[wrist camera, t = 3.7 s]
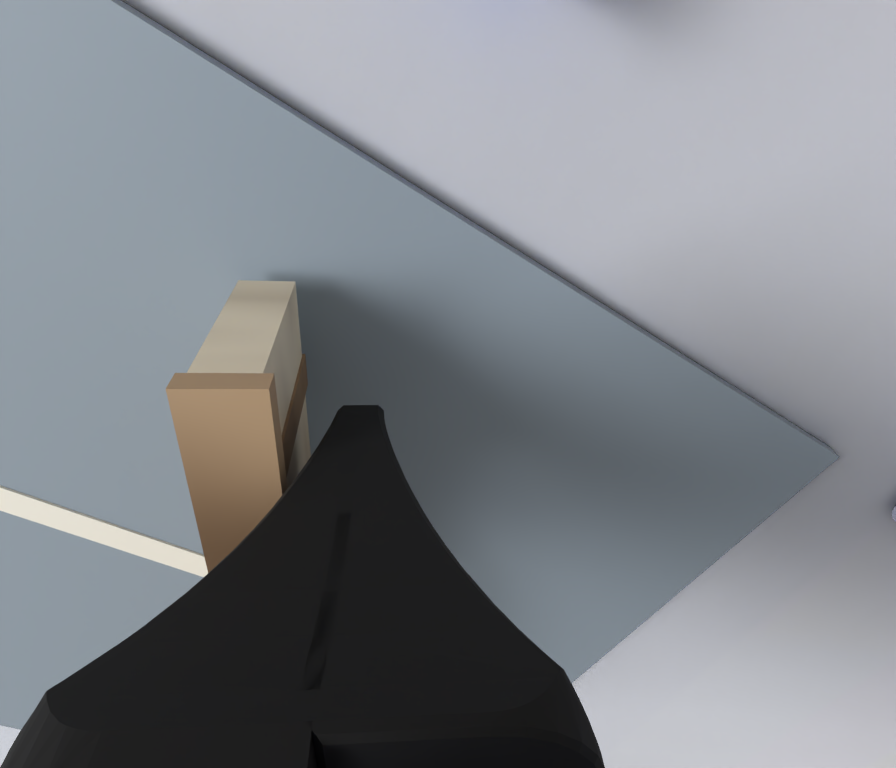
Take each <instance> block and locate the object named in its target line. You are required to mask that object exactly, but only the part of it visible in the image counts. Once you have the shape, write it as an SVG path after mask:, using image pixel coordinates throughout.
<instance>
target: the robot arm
mask: <svg viewBox="0 0 896 768" xmlns="http://www.w3.org/2000/svg"><path fill="white" fill-rule="evenodd" d="M892 518H893V519H894V521H895V522H896V506H895V507H894V509H893V511H892ZM0 768H605V767H604V763H603V759H602V755H601V752H600V749H599V746H598V743H597V740H596V737H595V735H594V732H593V730H592V727H591V725H590V722H589V720H588V717H587V715H586V713H585V711H584V708H583V706H582V704H581V702H580V700H579V698H578V696H577V694H576V692H575V690H574V688H573V686H572V684H571V682H570V680H569V678H568V676H567V674H566V672H565V670H564V669H563V668H562V667H561V666H559V665H558V664H557V663H556V662H555V661H554V660H552V659H551V658H550V657H549V656H548V655H547V654H546V653H544V652H543V651H542V650H541V649H540V648H539V647H538V646H537V645H536V644H535V643H533V642H532V641H531V640H530V639H529V638H528V637H527V636H526V635H525V634H524V633H523V632H522V631H521V630H519V629H518V628H517V627H516V625H515V624H514V623H513V622H512V621H511V620H510V619H509V618H508V617H507V616H506V615H505V614H504V613H503V612H502V611H501V610H500V609H499V608H498V607H497V606H496V605H495V604H494V603H493V602H492V601H491V600H490V598H489V597H488V596H487V595H486V594H485V593H484V592H483V590H482V589H481V588H480V587H479V586H478V585H477V583H476V582H475V581H474V580H473V579H472V578H471V577H470V575H469V574H468V573H467V572H466V571H465V570H464V568H463V567H462V566H461V565H460V563H459V562H458V561H457V559H456V558H455V557H454V555H453V554H452V553H451V551H450V550H449V549H448V547H447V546H446V545H445V543H444V542H443V540H442V539H441V537H440V536H439V535H438V533H437V532H436V530H435V529H434V527H433V526H432V524H431V522H430V521H429V519H428V518H427V516H426V514H425V513H424V511H423V509H422V508H421V506H420V504H419V502H418V501H417V499H416V497H415V495H414V493H413V492H412V490H411V488H410V486H409V484H408V482H407V480H406V478H405V476H404V473H403V471H402V469H401V467H400V464H399V462H398V460H397V458H396V455H395V453H394V450H393V448H392V445H391V442H390V439H389V436H388V432H387V429H386V425H385V419H384V410H383V409H382V408H381V407H380V406H379V405H343V406H342V407H341V408H340V409H339V410H338V411H337V413H336V415H335V417H334V419H333V421H332V423H331V425H330V427H329V428H328V430H327V432H326V433H325V435H324V437H323V438H322V440H321V442H320V443H319V445H318V446H317V448H316V450H315V451H314V453H313V454H312V455H311V457H310V458H309V460H308V461H307V463H306V464H305V466H304V467H303V469H302V470H301V471H300V473H299V474H298V476H297V477H296V478H295V480H294V481H293V482H292V484H291V485H290V486H289V487H288V489H287V490H286V491H285V492H284V494H283V495H282V496H281V497H280V499H279V500H278V501H277V502H276V504H275V505H274V506H273V507H272V509H271V510H270V511H269V512H268V513H267V514H266V516H265V517H264V518H263V519H262V520H261V521H260V522H259V523H258V525H257V526H256V527H255V528H254V529H253V530H252V531H251V532H250V533H249V534H248V535H247V536H246V537H245V538H244V539H243V540H242V541H241V542H240V544H239V545H238V546H237V547H236V548H235V549H234V550H233V551H231V552H230V553H229V554H228V555H227V556H226V557H225V558H224V559H223V560H222V561H221V562H220V563H219V564H218V565H217V566H215V567H214V568H213V569H212V570H211V571H210V572H209V573H208V574H207V575H206V576H205V577H204V578H202V579H201V580H200V581H199V582H198V583H197V584H196V585H194V586H193V587H192V588H191V589H190V590H189V591H187V592H186V593H185V594H184V595H183V596H181V597H180V598H179V599H177V600H176V601H175V602H174V603H172V604H171V605H170V606H169V607H167V608H166V609H165V610H163V611H162V612H161V613H160V614H158V615H157V616H156V617H154V618H153V619H152V620H151V621H149V622H148V623H147V624H146V625H144V626H143V627H142V628H140V629H139V630H138V631H136V632H135V633H133V634H132V635H131V636H129V637H128V638H126V639H125V640H124V641H122V642H121V643H119V644H118V645H116V646H115V647H113V648H112V649H110V650H109V651H107V652H106V653H104V654H103V655H101V656H100V657H98V658H97V659H95V660H93V661H92V662H90V663H89V664H87V665H86V666H84V667H83V668H81V669H80V670H78V671H77V672H75V673H74V674H72V675H71V676H69V677H68V678H66V679H65V680H63V681H61V682H60V683H58V684H57V685H55V686H53V687H52V688H50V689H49V690H47V691H46V692H45V694H44V695H43V697H42V699H41V700H40V702H39V704H38V705H37V707H36V709H35V710H34V712H33V713H32V714H31V716H30V717H29V719H28V720H27V722H26V723H25V725H24V726H23V728H22V729H21V731H20V733H19V735H18V736H17V738H16V740H15V741H14V743H13V745H12V747H11V748H10V750H9V752H8V754H7V756H6V758H5V760H4V762H3V764H2V765H1V767H0Z"/></svg>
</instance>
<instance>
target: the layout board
mask: <svg viewBox="0 0 896 768" xmlns="http://www.w3.org/2000/svg"><path fill="white" fill-rule="evenodd" d="M238 280H247V281H295V282H296V293H297V304H298V316H299V327H300V339H301V350H302V354H305V356H306V368H307V379H308V386H307V391H306V407H307V418H308V430H309V441H310V452H311V455H312V454H313V453H314V451H315V450H316V448H317V446H318V445H319V443H320V442H321V440H322V438H323V437H324V435H325V433H326V432H327V430H328V428H329V427H330V425H331V423H332V421H333V419H334V417H335V415H336V413H337V411H338V410H339V409H340V408H341V407H342V406H343V405H379V406H380V407H381V408H382V409H383V410H384V419H385V425H386V429H387V432H388V436H389V439H390V442H391V445H392V448H393V450H394V453H395V455H396V458H397V460H398V462H399V464H400V467H401V469H402V471H403V473H404V476H405V478H406V480H407V482H408V484H409V486H410V488H411V490H412V492H413V493H414V495H415V497H416V499H417V501H418V502H419V504H420V506H421V508H422V509H423V511H424V513H425V514H426V516H427V518H428V519H429V521H430V522H431V524H432V526H433V527H434V529H435V530H436V532H437V533H438V535H439V536H440V537H441V539H442V540H443V542H444V543H445V545H446V546H447V547H448V549H449V550H450V551H451V553H452V554H453V555H454V557H455V558H456V559H457V561H458V562H459V563H460V565H461V566H462V567H463V568H464V570H465V571H466V572H467V573H468V574H469V575H470V577H471V578H472V579H473V580H474V581H475V582H476V583H477V585H478V586H479V587H480V588H481V589H482V590H483V592H484V593H485V594H486V595H487V596H488V597H489V598H490V600H491V601H492V602H493V603H494V604H495V605H496V606H497V607H498V608H499V609H500V610H501V611H502V612H503V613H504V614H505V615H506V616H507V617H508V618H509V619H510V620H511V621H512V622H513V623H514V624H515V625H516V627H517V628H518V629H519V630H521V631H522V632H523V633H524V634H525V635H526V636H527V637H528V638H529V639H530V640H531V641H532V642H533V643H535V644H536V645H537V646H538V647H539V648H540V649H541V650H542V651H543V652H544V653H546V654H547V655H548V656H549V657H550V658H551V659H552V660H554V661H555V662H556V663H557V664H558V665H559V666H561V667H562V668H563V669H564V670H565V672H566V674H567V676H568V678H569V680H570V682H571V683H572V682H573V681H574V680H576V679H577V678H578V677H579V676H580V675H582V674H583V673H584V672H585V671H586V670H588V669H589V668H590V667H591V666H592V665H593V664H595V663H596V662H597V661H598V660H599V659H601V658H602V657H603V656H604V655H605V654H607V653H608V652H609V651H610V650H611V649H612V648H614V647H615V646H616V645H617V644H618V643H620V642H621V641H622V640H623V639H624V638H626V637H627V636H628V635H629V634H630V633H631V632H633V631H634V630H635V629H636V628H637V627H639V626H640V625H641V624H642V623H643V622H644V621H646V620H647V619H648V618H649V617H650V616H652V615H653V614H654V613H655V612H656V611H658V610H659V609H660V608H661V607H662V606H663V605H665V604H666V603H667V602H668V601H669V600H671V599H672V598H673V597H674V596H675V595H677V594H678V593H679V592H680V591H681V590H682V589H684V588H685V587H686V586H687V585H688V584H690V583H691V582H692V581H693V580H694V579H696V578H697V577H698V576H699V575H700V574H701V573H703V572H704V571H705V570H706V569H707V568H709V567H710V566H711V565H712V564H713V563H714V562H716V561H717V560H718V559H719V558H720V557H722V556H723V555H724V554H725V553H726V552H728V551H729V550H730V549H731V548H732V547H733V546H735V545H736V544H737V543H738V542H739V541H741V540H742V539H743V538H744V537H745V536H747V535H748V534H749V533H750V532H751V531H752V530H754V529H755V528H756V527H757V526H758V525H760V524H761V523H762V522H763V521H764V520H766V519H767V518H768V517H769V516H770V515H771V514H773V513H774V512H775V511H776V510H777V509H779V508H780V507H781V506H782V505H783V504H785V503H786V502H787V501H788V500H789V499H790V498H792V497H793V496H794V495H795V494H796V493H798V492H799V491H800V490H801V489H802V488H803V487H805V486H806V485H807V484H808V483H809V482H811V481H812V480H813V479H814V478H815V477H817V476H818V475H819V474H820V473H821V472H822V471H824V470H825V469H826V468H827V467H828V466H830V465H831V464H832V463H833V462H834V461H836V460H837V459H838V458H839V456H838V455H837V454H836V453H835V452H834V451H833V450H832V449H831V448H830V447H829V446H828V445H826V444H824V443H823V442H821V441H820V440H818V439H816V438H815V437H813V436H812V435H810V434H808V433H807V432H805V431H804V430H802V429H801V428H799V427H797V426H796V425H794V424H793V423H791V422H789V421H788V420H786V419H785V418H783V417H782V416H780V415H778V414H777V413H775V412H774V411H772V410H770V409H769V408H767V407H766V406H764V405H762V404H761V403H759V402H758V401H756V400H755V399H753V398H751V397H750V396H748V395H747V394H745V393H743V392H742V391H740V390H739V389H737V388H735V387H734V386H732V385H731V384H729V383H728V382H726V381H724V380H723V379H721V378H720V377H718V376H716V375H715V374H713V373H712V372H710V371H709V370H707V369H705V368H704V367H702V366H701V365H699V364H697V363H696V362H694V361H693V360H691V359H689V358H688V357H686V356H685V355H683V354H682V353H680V352H678V351H677V350H675V349H674V348H672V347H670V346H669V345H667V344H666V343H664V342H663V341H661V340H659V339H658V338H656V337H655V336H653V335H651V334H650V333H648V332H647V331H645V330H643V329H642V328H640V327H639V326H637V325H636V324H634V323H632V322H631V321H629V320H628V319H626V318H624V317H623V316H621V315H620V314H618V313H617V312H615V311H613V310H612V309H610V308H609V307H607V306H605V305H604V304H602V303H601V302H599V301H597V300H596V299H594V298H593V297H591V296H590V295H588V294H586V293H585V292H583V291H582V290H580V289H578V288H577V287H575V286H574V285H572V284H570V283H569V282H567V281H566V280H564V279H563V278H561V277H559V276H558V275H556V274H555V273H553V272H551V271H550V270H548V269H547V268H545V267H544V266H542V265H540V264H539V263H537V262H536V261H534V260H532V259H531V258H529V257H528V256H526V255H524V254H523V253H521V252H520V251H518V250H517V249H515V248H513V247H512V246H510V245H509V244H507V243H505V242H504V241H502V240H501V239H499V238H498V237H496V236H494V235H493V234H491V233H490V232H488V231H486V230H485V229H483V228H482V227H480V226H478V225H477V224H475V223H474V222H472V221H471V220H469V219H467V218H466V217H464V216H463V215H461V214H459V213H458V212H456V211H455V210H453V209H452V208H450V207H448V206H447V205H445V204H444V203H442V202H440V201H439V200H437V199H436V198H434V197H432V196H431V195H429V194H428V193H426V192H425V191H423V190H421V189H420V188H418V187H417V186H415V185H413V184H412V183H410V182H409V181H407V180H405V179H404V178H402V177H401V176H399V175H398V174H396V173H394V172H393V171H391V170H390V169H388V168H386V167H385V166H383V165H382V164H380V163H379V162H377V161H375V160H374V159H372V158H371V157H369V156H367V155H366V154H364V153H363V152H361V151H359V150H358V149H356V148H355V147H353V146H352V145H350V144H348V143H347V142H345V141H344V140H342V139H340V138H339V137H337V136H336V135H334V134H333V133H331V132H329V131H328V130H326V129H325V128H323V127H321V126H320V125H318V124H317V123H315V122H313V121H312V120H310V119H309V118H307V117H306V116H304V115H302V114H301V113H299V112H298V111H296V110H294V109H293V108H291V107H290V106H288V105H287V104H285V103H283V102H282V101H280V100H279V99H277V98H275V97H274V96H272V95H271V94H269V93H267V92H266V91H264V90H263V89H261V88H260V87H258V86H256V85H255V84H253V83H252V82H250V81H248V80H247V79H245V78H244V77H242V76H240V75H239V74H237V73H236V72H234V71H233V70H231V69H229V68H228V67H226V66H225V65H223V64H221V63H220V62H218V61H217V60H215V59H214V58H212V57H210V56H209V55H207V54H206V53H204V52H202V51H201V50H199V49H198V48H196V47H194V46H193V45H191V44H190V43H188V42H187V41H185V40H183V39H182V38H180V37H179V36H177V35H175V34H174V33H172V32H171V31H169V30H168V29H166V28H164V27H163V26H161V25H160V24H158V23H156V22H155V21H153V20H152V19H150V18H148V17H147V16H145V15H144V14H142V13H141V12H139V11H137V10H136V9H134V8H133V7H131V6H129V5H128V4H126V3H125V2H123V1H122V0H0V725H2V726H7V727H11V728H16V729H20V730H21V729H22V728H23V726H24V725H25V723H26V722H27V720H28V719H29V717H30V716H31V714H32V713H33V712H34V710H35V709H36V707H37V705H38V704H39V702H40V700H41V699H42V697H43V695H44V694H45V692H46V691H47V690H49V689H50V688H52V687H53V686H55V685H57V684H58V683H60V682H61V681H63V680H65V679H66V678H68V677H69V676H71V675H72V674H74V673H75V672H77V671H78V670H80V669H81V668H83V667H84V666H86V665H87V664H89V663H90V662H92V661H93V660H95V659H97V658H98V657H100V656H101V655H103V654H104V653H106V652H107V651H109V650H110V649H112V648H113V647H115V646H116V645H118V644H119V643H121V642H122V641H124V640H125V639H126V638H128V637H129V636H131V635H132V634H133V633H135V632H136V631H138V630H139V629H140V628H142V627H143V626H144V625H146V624H147V623H148V622H149V621H151V620H152V619H153V618H154V617H156V616H157V615H158V614H160V613H161V612H162V611H163V610H165V609H166V608H167V607H169V606H170V605H171V604H172V603H174V602H175V601H176V600H177V599H179V598H180V597H181V596H183V595H184V594H185V593H186V592H187V591H189V590H190V589H191V588H192V587H193V586H194V585H196V584H197V583H198V582H199V581H200V580H201V579H202V578H204V577H205V576H206V575H207V574H208V570H207V566H206V562H205V557H204V553H203V549H202V544H201V540H200V536H199V531H198V527H197V523H196V518H195V514H194V510H193V505H192V501H191V497H190V493H189V488H188V484H187V480H186V475H185V471H184V467H183V462H182V458H181V454H180V449H179V445H178V441H177V436H176V432H175V428H174V423H173V419H172V415H171V411H170V406H169V402H168V398H167V393H166V387H167V386H168V384H169V382H170V380H171V379H172V377H173V375H174V374H175V373H187V371H188V369H189V368H190V366H191V364H192V362H193V361H194V359H195V357H196V355H197V353H198V352H199V350H200V348H201V346H202V344H203V343H204V341H205V339H206V337H207V336H208V334H209V332H210V330H211V328H212V327H213V325H214V323H215V321H216V320H217V318H218V316H219V314H220V312H221V311H222V309H223V307H224V305H225V303H226V302H227V300H228V298H229V296H230V295H231V293H232V291H233V289H234V287H235V286H236V284H237V282H238Z"/></svg>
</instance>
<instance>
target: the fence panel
mask: <svg viewBox="0 0 896 768" xmlns="http://www.w3.org/2000/svg"><path fill="white" fill-rule="evenodd" d="M307 386H308V379H307V368H306V356H305V354H302V350H301V339H300V327H299V316H298V304H297V293H296V282H295V281H247V280H238V282H237V284H236V286H235V287H234V289H233V291H232V293H231V295H230V296H229V298H228V300H227V302H226V303H225V305H224V307H223V309H222V311H221V312H220V314H219V316H218V318H217V320H216V321H215V323H214V325H213V327H212V328H211V330H210V332H209V334H208V336H207V337H206V339H205V341H204V343H203V344H202V346H201V348H200V350H199V352H198V353H197V355H196V357H195V359H194V361H193V362H192V364H191V366H190V368H189V369H188V371H187V373H175V374H174V375H173V377H172V379H171V380H170V382H169V384H168V386H167V387H166V393H167V398H168V402H169V406H170V411H171V415H172V419H173V423H174V428H175V432H176V436H177V441H178V445H179V449H180V454H181V458H182V462H183V467H184V471H185V475H186V480H187V484H188V488H189V493H190V497H191V501H192V505H193V510H194V514H195V518H196V523H197V527H198V531H199V536H200V540H201V544H202V549H203V553H204V557H205V562H206V566H207V570H208V573H209V572H210V571H211V570H212V569H213V568H214V567H215V566H217V565H218V564H219V563H220V562H221V561H222V560H223V559H224V558H225V557H226V556H227V555H228V554H229V553H230V552H231V551H233V550H234V549H235V548H236V547H237V546H238V545H239V544H240V542H241V541H242V540H243V539H244V538H245V537H246V536H247V535H248V534H249V533H250V532H251V531H252V530H253V529H254V528H255V527H256V526H257V525H258V523H259V522H260V521H261V520H262V519H263V518H264V517H265V516H266V514H267V513H268V512H269V511H270V510H271V509H272V507H273V506H274V505H275V504H276V502H277V501H278V500H279V499H280V497H281V496H282V495H283V494H284V492H285V491H286V490H287V489H288V487H289V486H290V485H291V484H292V482H293V481H294V480H295V478H296V477H297V476H298V474H299V473H300V471H301V470H302V469H303V467H304V466H305V464H306V463H307V461H308V460H309V458H310V457H311V452H310V441H309V430H308V418H307V407H306V391H307Z"/></svg>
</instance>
